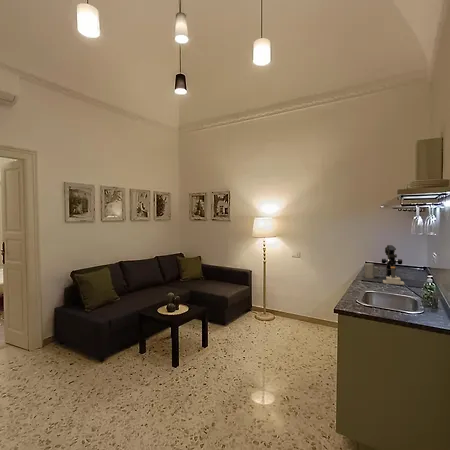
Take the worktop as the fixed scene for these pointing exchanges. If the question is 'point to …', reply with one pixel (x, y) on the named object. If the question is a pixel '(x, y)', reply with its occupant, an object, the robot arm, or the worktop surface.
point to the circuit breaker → (370, 270)
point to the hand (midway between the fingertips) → (392, 268)
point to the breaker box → (393, 280)
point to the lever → (392, 271)
